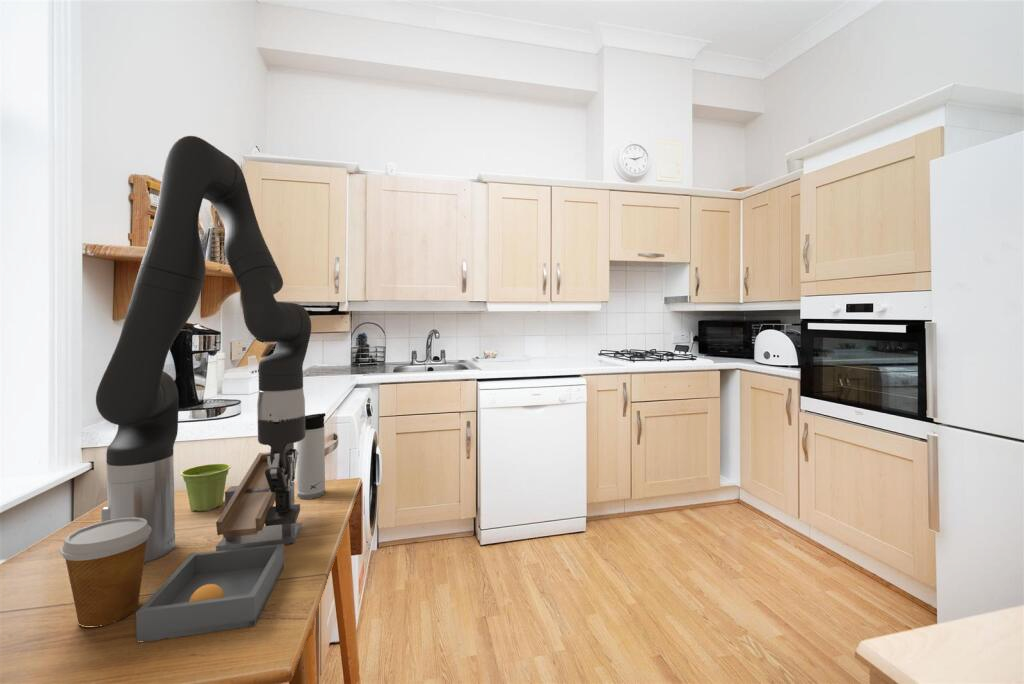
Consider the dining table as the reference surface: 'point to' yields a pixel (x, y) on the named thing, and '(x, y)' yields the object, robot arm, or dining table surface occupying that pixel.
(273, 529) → the stand
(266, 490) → the lever
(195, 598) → the ball
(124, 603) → the disposable coffee cup
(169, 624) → the bin
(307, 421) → the travel mug
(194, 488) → the plant pot
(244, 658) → the dining table surface
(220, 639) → the dining table surface
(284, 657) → the dining table surface
